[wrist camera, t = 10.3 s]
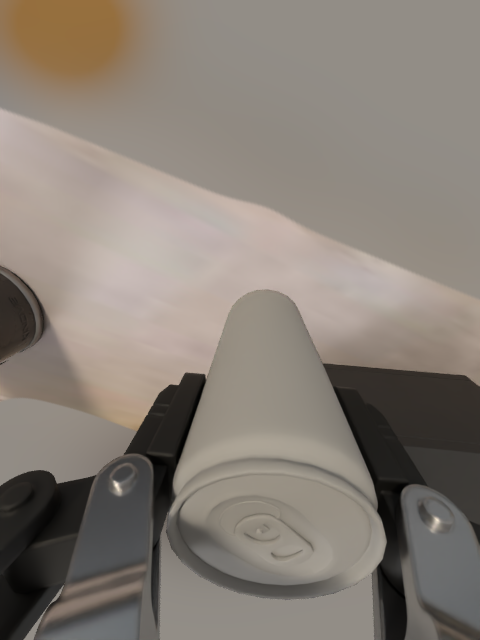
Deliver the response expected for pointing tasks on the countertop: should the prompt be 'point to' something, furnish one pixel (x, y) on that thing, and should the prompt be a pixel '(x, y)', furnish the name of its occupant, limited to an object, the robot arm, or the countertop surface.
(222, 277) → the countertop surface
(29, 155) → the countertop surface
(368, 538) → the beverage can
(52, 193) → the countertop surface
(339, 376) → the dark grey lidded box
